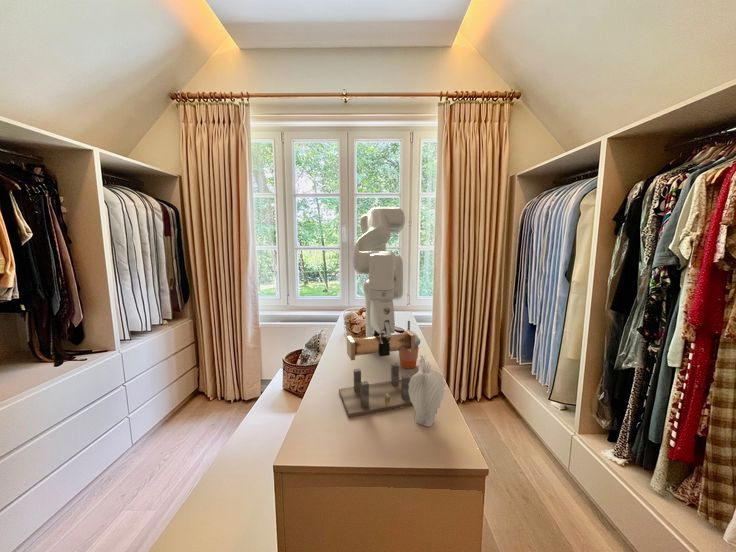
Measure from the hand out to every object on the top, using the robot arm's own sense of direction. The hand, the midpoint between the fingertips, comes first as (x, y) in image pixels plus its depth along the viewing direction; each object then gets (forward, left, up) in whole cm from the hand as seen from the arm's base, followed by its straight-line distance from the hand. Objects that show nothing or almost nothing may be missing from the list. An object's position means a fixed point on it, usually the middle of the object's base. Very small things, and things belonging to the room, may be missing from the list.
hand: (380, 351), depth 91 cm
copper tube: (0, 0, 0) cm, 0 cm away
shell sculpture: (+15, +8, -16) cm, 23 cm away
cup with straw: (-19, +18, -16) cm, 30 cm away
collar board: (0, 0, -15) cm, 15 cm away
